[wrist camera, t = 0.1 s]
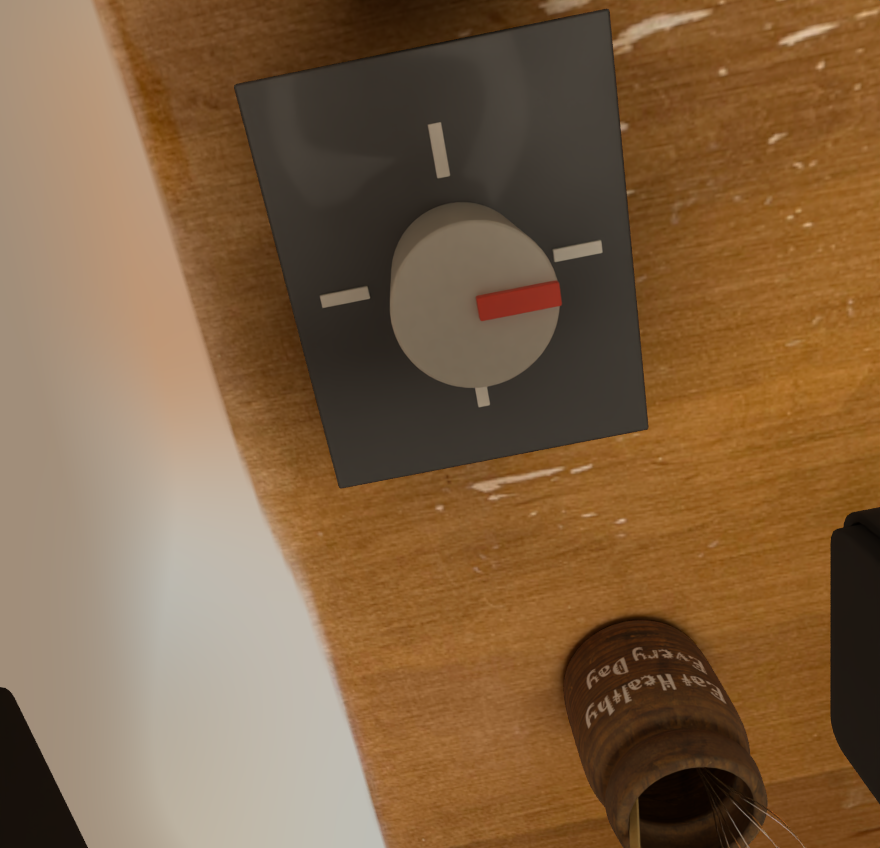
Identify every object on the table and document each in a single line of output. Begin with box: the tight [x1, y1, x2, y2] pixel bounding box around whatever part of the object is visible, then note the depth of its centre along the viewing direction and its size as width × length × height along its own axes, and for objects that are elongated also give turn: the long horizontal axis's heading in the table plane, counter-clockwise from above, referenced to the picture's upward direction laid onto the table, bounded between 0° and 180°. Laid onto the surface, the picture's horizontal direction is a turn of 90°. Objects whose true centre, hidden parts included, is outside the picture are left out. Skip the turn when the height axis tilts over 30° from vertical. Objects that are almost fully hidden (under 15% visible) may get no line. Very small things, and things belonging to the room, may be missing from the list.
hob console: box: [234, 9, 648, 488], centre depth 23 cm, size 12×10×3 cm
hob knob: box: [390, 202, 562, 388], centre depth 20 cm, size 4×4×5 cm
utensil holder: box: [564, 620, 807, 848], centre depth 26 cm, size 6×6×12 cm
